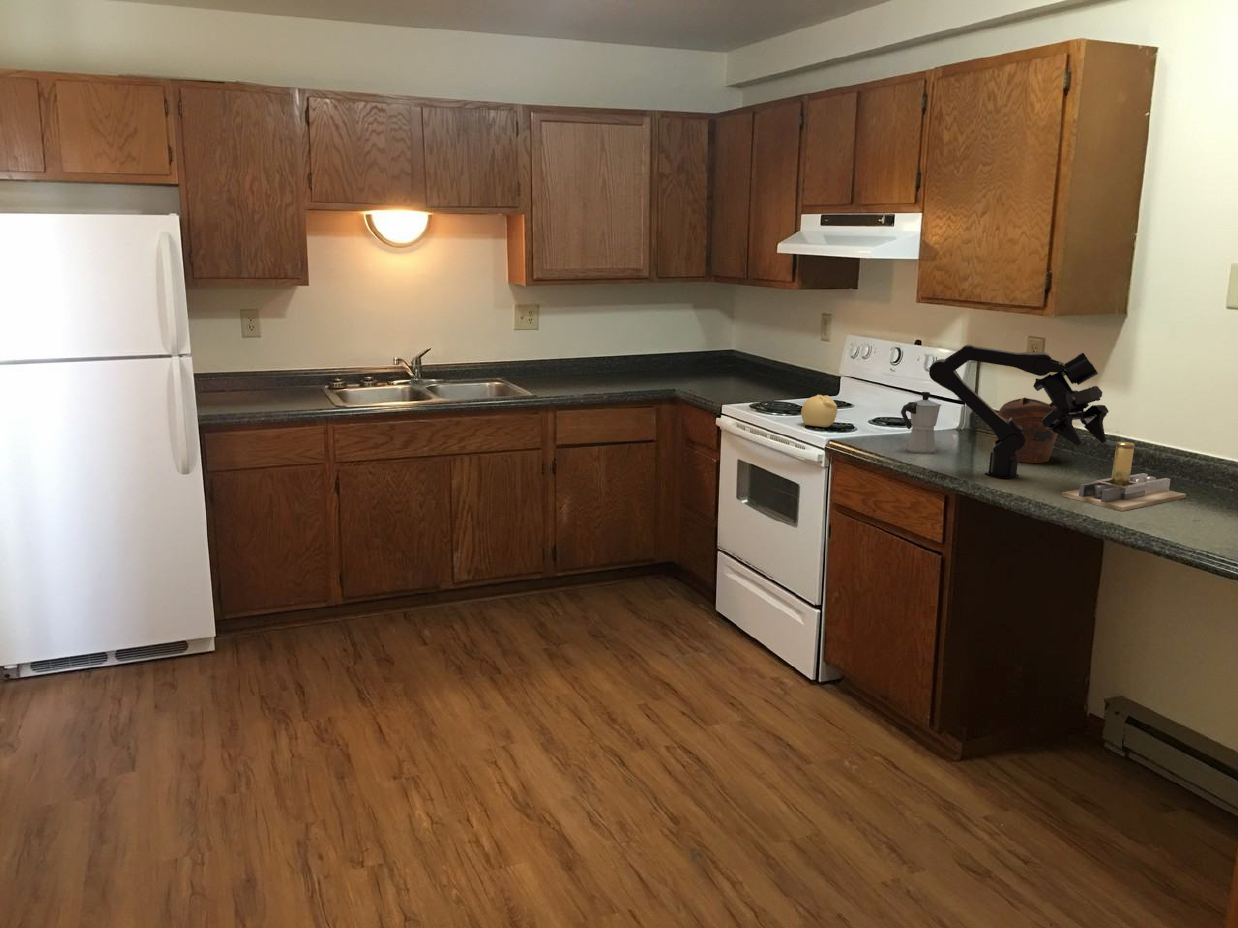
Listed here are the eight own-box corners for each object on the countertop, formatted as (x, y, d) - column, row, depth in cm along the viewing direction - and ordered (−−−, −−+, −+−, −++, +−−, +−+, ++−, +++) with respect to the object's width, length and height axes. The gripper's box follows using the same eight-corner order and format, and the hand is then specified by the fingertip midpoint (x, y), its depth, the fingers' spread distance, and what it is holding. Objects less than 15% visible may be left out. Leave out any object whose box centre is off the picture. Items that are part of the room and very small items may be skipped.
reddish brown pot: (1018, 448, 309) (1024, 391, 305) (1074, 462, 292) (1082, 401, 287) (977, 454, 301) (983, 395, 296) (1032, 468, 283) (1039, 406, 279)
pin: (1105, 493, 251) (1112, 442, 248) (1115, 491, 253) (1122, 441, 250) (1121, 497, 248) (1128, 445, 245) (1130, 495, 250) (1138, 444, 247)
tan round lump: (840, 429, 336) (842, 397, 333) (804, 429, 335) (806, 397, 333) (831, 423, 347) (833, 392, 345) (797, 422, 347) (799, 391, 344)
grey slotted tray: (1076, 495, 249) (1077, 483, 248) (1139, 483, 262) (1141, 472, 262) (1107, 503, 241) (1109, 491, 241) (1171, 490, 255) (1172, 479, 255)
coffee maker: (928, 446, 310) (933, 388, 306) (947, 452, 302) (953, 393, 298) (888, 449, 304) (893, 390, 300) (907, 455, 297) (912, 395, 293)
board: (1061, 496, 252) (1062, 492, 252) (1125, 484, 266) (1126, 480, 265) (1121, 511, 238) (1122, 507, 238) (1185, 497, 252) (1186, 494, 252)
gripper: (1056, 377, 252) (1089, 427, 244) (1106, 373, 260) (1139, 423, 253) (1028, 403, 260) (1058, 453, 253) (1077, 399, 268) (1108, 447, 261)
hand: (1092, 443), depth 255 cm, fingers open, 9 cm apart
